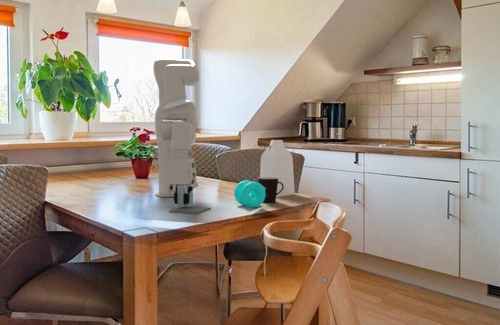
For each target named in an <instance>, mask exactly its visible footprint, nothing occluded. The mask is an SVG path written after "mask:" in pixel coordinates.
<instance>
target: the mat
mask: <svg viewBox="0 0 500 325" xmlns="http://www.w3.org/2000/svg"><path fill="white" fill-rule="evenodd" d="M209 210H211V207H208V206H206V207H205V206H192V205H190V206H186V207H177V208H174V209H170V210H169V211H168V213H175V214H177V213H179V214H193V215H194V214H195V215H197V214H201V213H203V212H207V211H209Z"/></svg>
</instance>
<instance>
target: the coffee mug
mask: <svg viewBox="0 0 500 325" xmlns="http://www.w3.org/2000/svg"><path fill="white" fill-rule="evenodd" d="M257 183H259V184H261V185H262V186H263V188H264V190H265V199H264V201H263V203H264V204H266V203H267V204H271V203H276V201H277V197H276V195H278V194H279V193H280V192H281V191H282V190H283V188H284V186H283V183H281V182H278V178H273V177H262V178H260V177H257ZM278 183H280V184H281V185H282V189H281V191H279V192H278V193H277V186H278ZM263 203H262V204H263Z"/></svg>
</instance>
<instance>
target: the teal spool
mask: <svg viewBox="0 0 500 325" xmlns="http://www.w3.org/2000/svg"><path fill="white" fill-rule="evenodd" d="M233 193H234V194H233V196H234V199H235V200H236V203H238V204H240V205H242V206H246V207H248V208H251V209H254V208H258V207H260V206H261V205H262V204H263V201H264V199H265V190H264V188H263V186H262V185H261V184H259V183H258V181H257V182H256V181H251V180H247V179H246V180H242V181H240V182H239V183H237V184H236V186H235V188H234V191H233Z"/></svg>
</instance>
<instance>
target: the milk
mask: <svg viewBox="0 0 500 325" xmlns="http://www.w3.org/2000/svg"><path fill="white" fill-rule="evenodd" d="M259 165H260V169H259V178H262V177H273V178H278V182H281V183H283V186H284V188H283V190H282V191H281V189H282V185H281V184H280V183H278V186H277V193H278V192H279V191H281V192H280V193H279V194H278V195H276V198H279V197H285V196H292V195H295V193H296V192H295V178H294V176H295V174H294V158H293V155H292V153H291V152H290V151H289V150H288V149H287V148H286V147H285V144H284V140H282V139H271V141H270V142H269V146H268V147H267V148H266V149H265V150H264V151H263V152H262V154H261V155H260V164H259Z"/></svg>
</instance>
